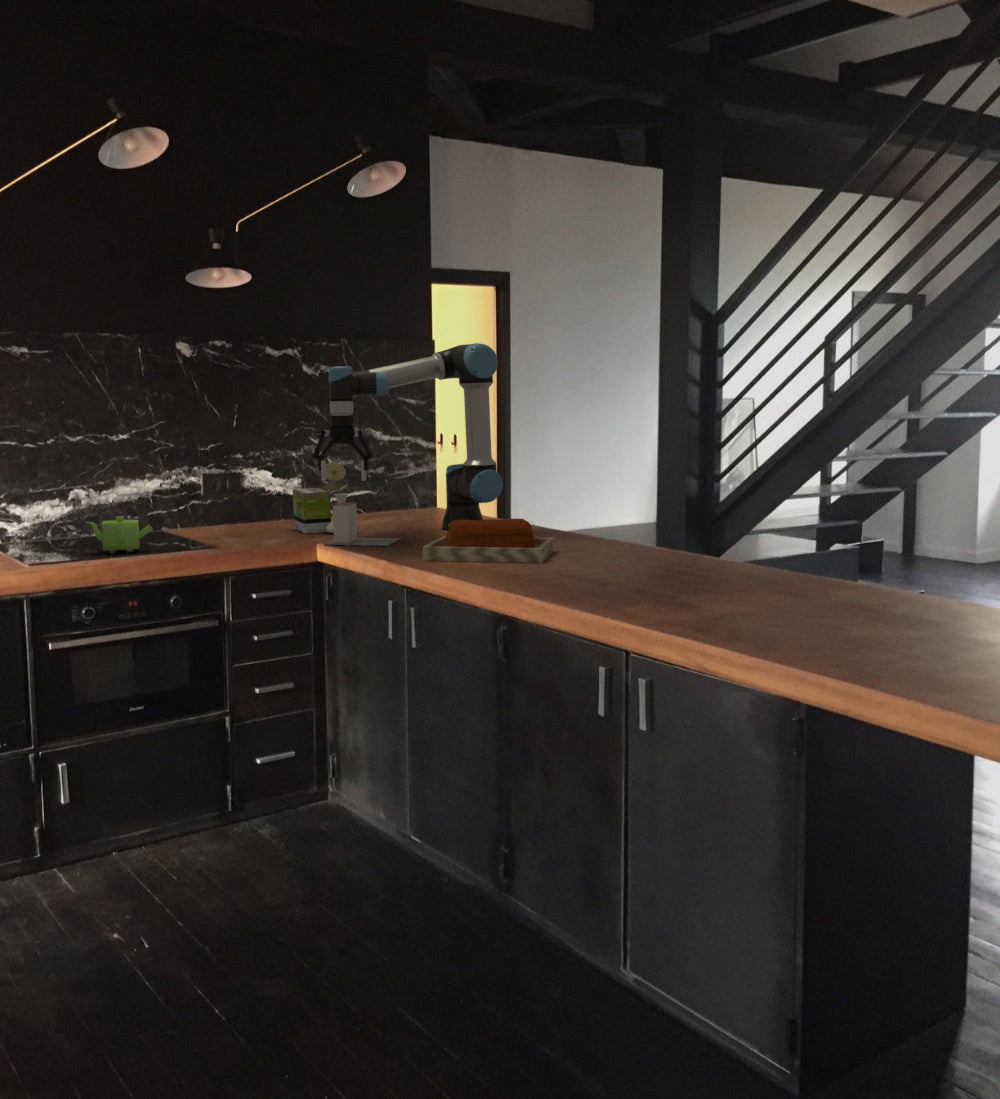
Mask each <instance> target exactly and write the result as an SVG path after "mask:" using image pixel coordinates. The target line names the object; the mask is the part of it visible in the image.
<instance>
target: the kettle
mask: <svg viewBox="0 0 1000 1099" xmlns="http://www.w3.org/2000/svg"><path fill="white" fill-rule="evenodd" d="M124 518H125V516H124V515H123V516H120V515H119V516H115V519H114V520H113V519H112V520H103V521H102V522H101V531H100V530H99V528H98V526H97V524H96V523H95V522H94V521H85V522H84V523H85V524H88V525H89V526H90V527H91V528H92V530H93V533H94V535H95V537H96V539H98V540H99V541H100V542H102V551H116V552H117V551H119V550H125V551H126V552H127V551H133V549H134V550H139V549H140V539H142V538H143V537H145V536H146V535H148V534H149V533H150V532H152V531H153V530H154V529H153V528H152V526H151V525H150V524H147V525H146V526H145V527H143V528H142V529H141V530H140V528H139V527H140V525H139V519H124Z"/></svg>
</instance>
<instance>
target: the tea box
mask: <svg viewBox="0 0 1000 1099" xmlns="http://www.w3.org/2000/svg"><path fill="white" fill-rule="evenodd" d="M292 502H293V503H292V505H293V507H292V508H293V523H294V524H293V525H294V530H297V531H299V532H301V531H302V532H301V533H303V532H305V533H308V532H325V531H327V530H326V527H327V526H328V524H329V523H331V522H332V512H331V511H332V510H331V509H332V508H331V491H330V490H327V489H322V488H318V487H317V488H316V487H315V488H314V487H313V488H310V487H309V488H298V489H297V488H296V489H292Z"/></svg>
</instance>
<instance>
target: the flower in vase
mask: <svg viewBox="0 0 1000 1099" xmlns="http://www.w3.org/2000/svg"><path fill="white" fill-rule="evenodd" d="M346 474H347V470H346V469H345V466H343V464H342V463H338V462H335V461H329V462H328V463H326V475H327V479H329V480H332V484H331V483H327V484H326V485H324V487H323V489H322V490H326V491H333V490H334V489H335V490H336V491H337V492H338V493H334V494H333V495H334V496H335V498H336V501H337V504H339V503H346V499H347V497H348V496H349V493H346V492H345V493H344V492H342V493H341V492H340V491H341V490H343V489H345V488H346V487H347V486H348V484H349V483H348V484H346V485H343V486H341V487H340V488H339V489H338V488H337V487H336V485H335V482H338V481H341V480H343V479H345V476H346ZM326 530H327V531H328V532H327V533H332V534H334V527H333V520H331V523H329V524H328V526H327V527H326ZM358 530H359V526H358V525H357V531H358Z"/></svg>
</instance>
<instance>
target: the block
mask: <svg viewBox="0 0 1000 1099" xmlns="http://www.w3.org/2000/svg"><path fill="white" fill-rule="evenodd" d="M332 515H333V516H332V519H333V520H332V521H333V527H334V533H333V540H334V543H350V542H352V541H354V540H357V538H358V530H357V526H358V521H357V519H358V518H357V516H358V515H357V503H356V502H345V503H339V504H338V503H337V504H334V505H332Z"/></svg>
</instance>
